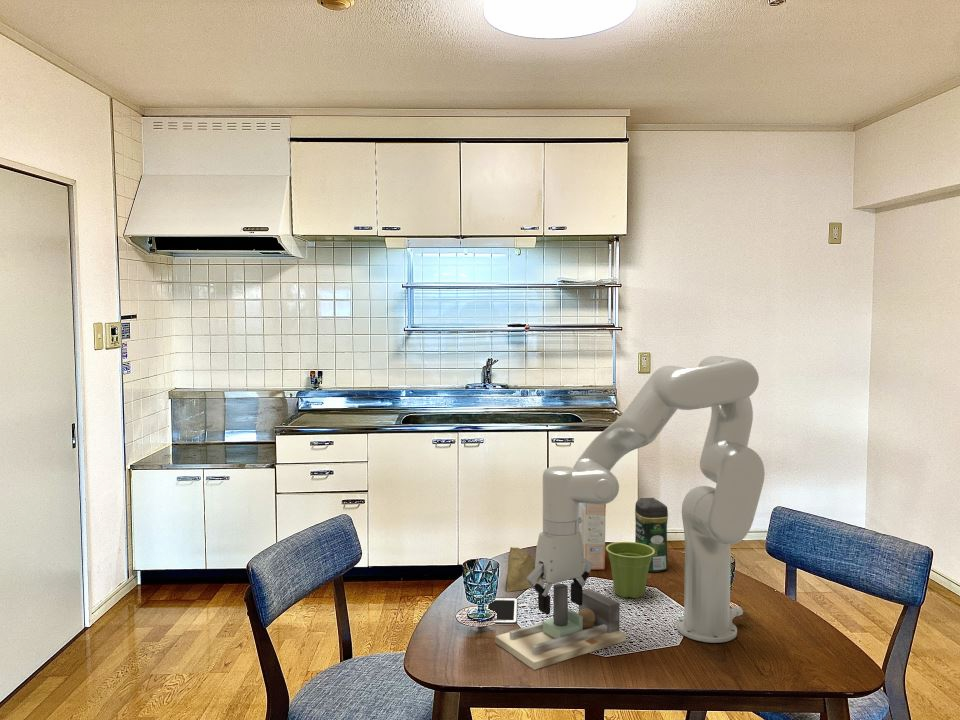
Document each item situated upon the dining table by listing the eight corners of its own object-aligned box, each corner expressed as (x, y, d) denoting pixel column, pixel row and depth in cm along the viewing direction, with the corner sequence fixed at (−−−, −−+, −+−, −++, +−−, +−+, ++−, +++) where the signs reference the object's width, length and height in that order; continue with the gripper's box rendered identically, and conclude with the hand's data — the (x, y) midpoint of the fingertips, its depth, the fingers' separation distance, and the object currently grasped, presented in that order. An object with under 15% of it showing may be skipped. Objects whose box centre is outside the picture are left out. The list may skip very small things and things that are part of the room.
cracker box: (606, 570, 200) (606, 494, 198) (584, 570, 200) (584, 494, 198) (597, 553, 214) (597, 481, 212) (576, 553, 214) (576, 482, 212)
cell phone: (517, 601, 180) (517, 597, 180) (516, 627, 165) (516, 622, 165) (486, 600, 180) (486, 596, 180) (482, 626, 166) (482, 622, 166)
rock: (545, 568, 195) (507, 562, 195) (549, 550, 189) (510, 544, 190) (542, 605, 187) (502, 599, 187) (545, 587, 181) (505, 580, 182)
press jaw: (564, 624, 161) (564, 578, 160) (582, 634, 156) (582, 587, 155) (542, 631, 158) (542, 584, 157) (560, 641, 153) (560, 593, 152)
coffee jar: (631, 561, 207) (631, 496, 205) (658, 560, 207) (659, 495, 206) (642, 573, 197) (643, 505, 196) (671, 572, 198) (671, 504, 197)
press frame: (583, 617, 169) (583, 585, 169) (625, 640, 157) (626, 606, 157) (495, 643, 157) (494, 608, 156) (534, 670, 145) (534, 632, 144)
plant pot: (645, 606, 175) (645, 559, 174) (598, 596, 182) (598, 551, 181) (660, 590, 185) (661, 546, 185) (616, 581, 192) (616, 538, 191)
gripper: (581, 515, 163) (581, 593, 164) (516, 528, 154) (516, 610, 155) (604, 524, 157) (603, 604, 158) (537, 537, 148) (537, 623, 149)
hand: (560, 607), depth 156 cm, fingers open, 8 cm apart
